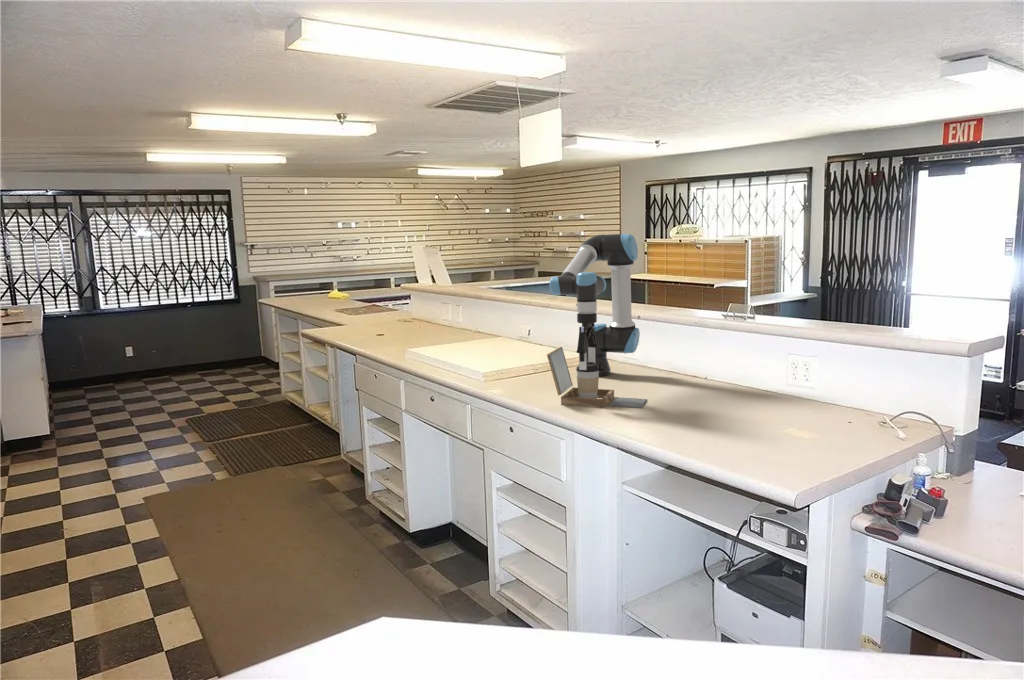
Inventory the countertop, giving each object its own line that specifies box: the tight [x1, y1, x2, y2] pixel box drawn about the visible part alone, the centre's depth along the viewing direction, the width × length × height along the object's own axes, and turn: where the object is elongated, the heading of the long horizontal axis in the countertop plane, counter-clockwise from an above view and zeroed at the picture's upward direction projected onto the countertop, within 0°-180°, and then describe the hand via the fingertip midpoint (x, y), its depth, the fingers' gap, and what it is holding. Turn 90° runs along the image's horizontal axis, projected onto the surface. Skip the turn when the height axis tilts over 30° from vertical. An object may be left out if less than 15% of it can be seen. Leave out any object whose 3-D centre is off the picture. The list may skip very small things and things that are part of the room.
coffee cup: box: [575, 362, 600, 399], centre depth 260 cm, size 9×9×15 cm
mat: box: [609, 396, 648, 409], centre depth 255 cm, size 12×12×1 cm
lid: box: [546, 346, 573, 396], centre depth 263 cm, size 17×17×1 cm
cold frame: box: [560, 387, 615, 408], centre depth 261 cm, size 17×17×3 cm
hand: (587, 366), depth 259 cm, fingers open, 13 cm apart
